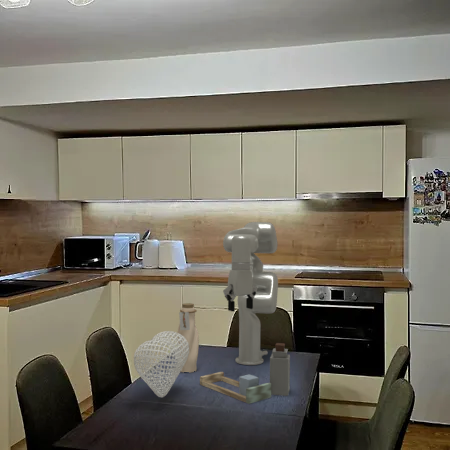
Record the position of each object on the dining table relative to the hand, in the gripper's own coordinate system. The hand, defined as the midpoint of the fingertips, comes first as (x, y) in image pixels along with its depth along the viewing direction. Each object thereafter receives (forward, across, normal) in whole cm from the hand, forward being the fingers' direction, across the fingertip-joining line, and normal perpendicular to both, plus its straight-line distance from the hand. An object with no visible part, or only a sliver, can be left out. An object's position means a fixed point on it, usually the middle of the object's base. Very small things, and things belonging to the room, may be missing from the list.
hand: (240, 309), depth 218 cm
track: (+28, +10, +8) cm, 31 cm away
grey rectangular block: (+28, +10, +16) cm, 34 cm away
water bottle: (+28, +8, -24) cm, 38 cm away
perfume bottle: (+28, -2, +20) cm, 35 cm away
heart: (+28, +35, -3) cm, 45 cm away
